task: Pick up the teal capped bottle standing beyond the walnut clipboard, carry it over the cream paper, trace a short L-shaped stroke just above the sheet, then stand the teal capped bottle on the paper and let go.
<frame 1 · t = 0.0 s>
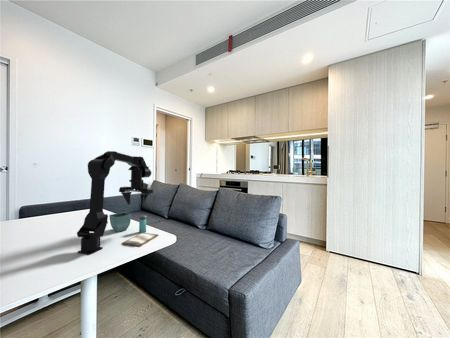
hand: (135, 204, 110), 15 cm above the table, fingers open, 9 cm apart
flower pot: (120, 230, 109), on the table
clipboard: (141, 239, 96), on the table
teal capped bottle: (142, 232, 107), on the table
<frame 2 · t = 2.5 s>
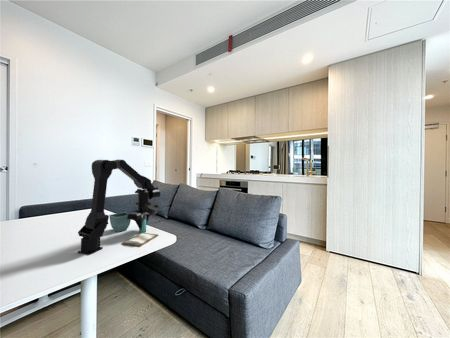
hand: (142, 228, 107), 2 cm above the table, fingers closed on teal capped bottle, 4 cm apart
teal capped bottle: (142, 232, 107), on the table, touching gripper
everything else where it was.
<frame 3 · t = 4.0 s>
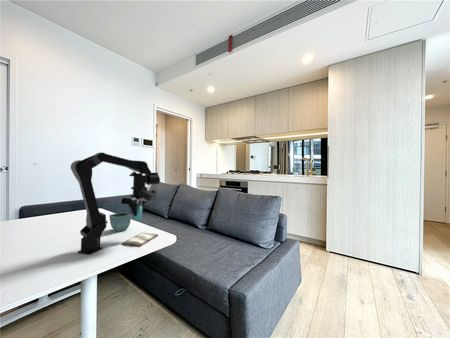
hand: (137, 215, 98), 12 cm above the table, fingers closed on teal capped bottle, 4 cm apart
teal capped bottle: (137, 219, 98), point 10 cm above the table, touching gripper
everything else where it was.
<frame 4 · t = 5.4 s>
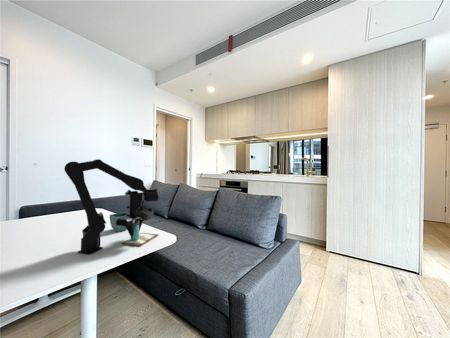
hand: (134, 235, 93), 3 cm above the table, fingers closed on teal capped bottle, 4 cm apart
teal capped bottle: (134, 239, 93), point 1 cm above the table, touching gripper
everything else where it was.
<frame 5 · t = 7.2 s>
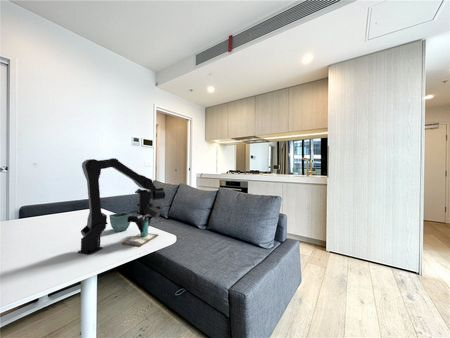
hand: (144, 231, 99), 3 cm above the table, fingers closed on teal capped bottle, 4 cm apart
teal capped bottle: (144, 235, 99), point 1 cm above the table, touching gripper
everything else where it was.
when the fingers open (3 cm above the table, at t = 8.6 s): teal capped bottle stays where it is, resting on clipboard.
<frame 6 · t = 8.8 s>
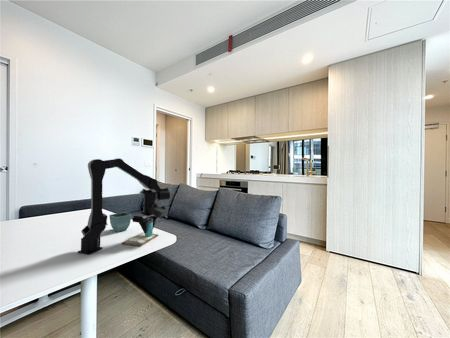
hand: (148, 231, 99), 3 cm above the table, fingers open, 5 cm apart
teal capped bottle: (148, 235, 99), point 1 cm above the table, touching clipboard
everything else where it was.
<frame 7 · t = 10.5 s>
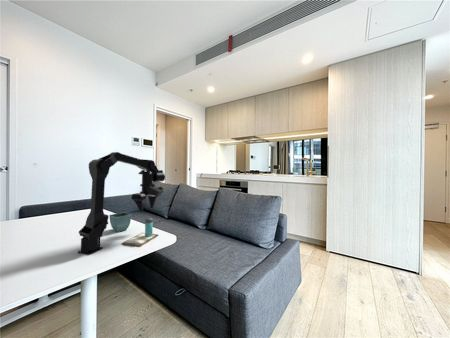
hand: (146, 210, 106), 13 cm above the table, fingers open, 9 cm apart
nothing on the table moved.
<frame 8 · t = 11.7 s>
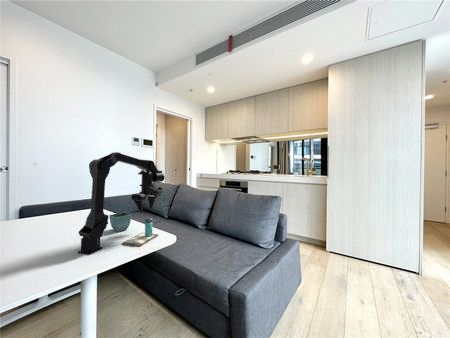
hand: (146, 210, 107), 12 cm above the table, fingers open, 9 cm apart
nothing on the table moved.
at the end: teal capped bottle inside the target area on the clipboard (4.0 cm from its centre), point 0.7 cm above the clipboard's base; the gripper is holding nothing; teal capped bottle tilted 2° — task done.
